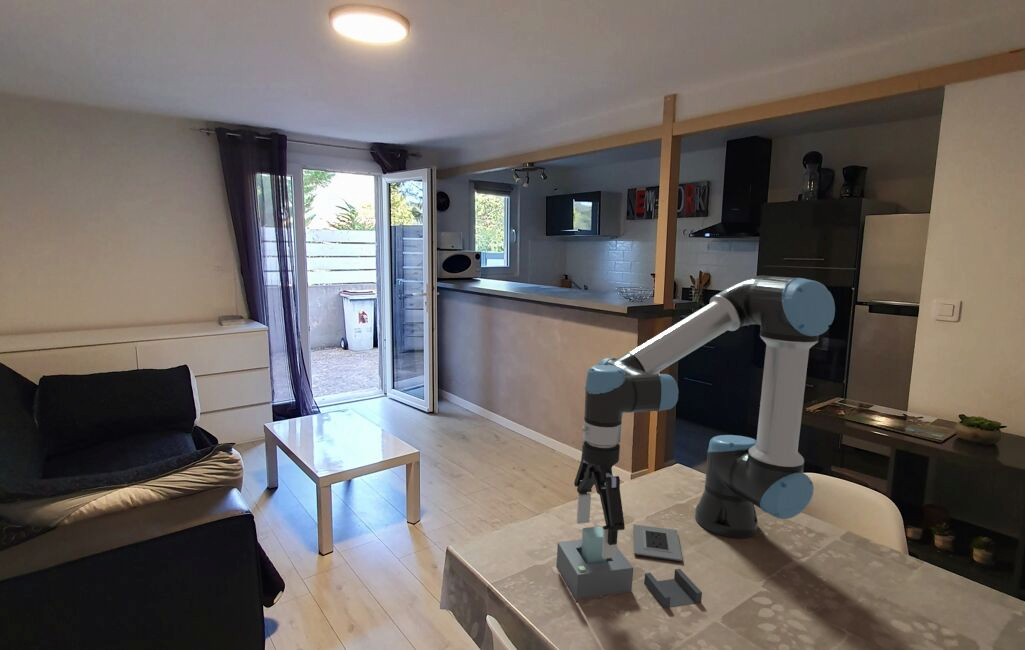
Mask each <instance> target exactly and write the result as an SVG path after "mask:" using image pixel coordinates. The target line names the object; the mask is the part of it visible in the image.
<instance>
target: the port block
mask: <svg viewBox="0 0 1025 650" xmlns="http://www.w3.org/2000/svg"><path fill="white" fill-rule="evenodd" d="M556 548H557V550H556V569H557V571H558V573H559V574H560V576H561V579H562V580H563V582H564V584H565V585H566V587H567V589H568V591H569V592H570V594H571V596H572V598H573V600H574V601H575V603H579V601H578V600H579V599H588V598H594V597H600V596H601V597H602V596H609V595H617V594H623V593H631V592H632V591H633V577H634V567H633V565H632V564H631V562H630V561H629V560H628V559H627V558H626V556H625V555H624V553H622V551H621V550H620V549H619V548H618V547H617V550H616V557H614V558H607V562H600V563H592V564H586V563H585V561H584V560H583V558H582V557H581V552H582V538H581V539H573V540H562V541H558V542H557V547H556Z"/></svg>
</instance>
